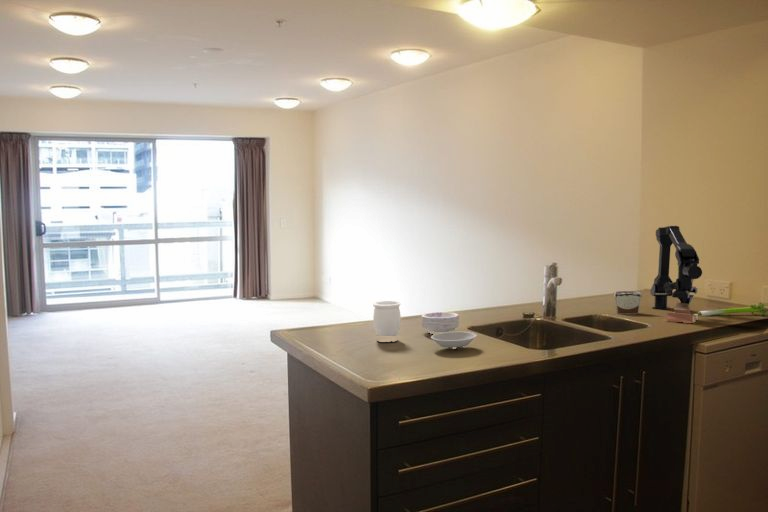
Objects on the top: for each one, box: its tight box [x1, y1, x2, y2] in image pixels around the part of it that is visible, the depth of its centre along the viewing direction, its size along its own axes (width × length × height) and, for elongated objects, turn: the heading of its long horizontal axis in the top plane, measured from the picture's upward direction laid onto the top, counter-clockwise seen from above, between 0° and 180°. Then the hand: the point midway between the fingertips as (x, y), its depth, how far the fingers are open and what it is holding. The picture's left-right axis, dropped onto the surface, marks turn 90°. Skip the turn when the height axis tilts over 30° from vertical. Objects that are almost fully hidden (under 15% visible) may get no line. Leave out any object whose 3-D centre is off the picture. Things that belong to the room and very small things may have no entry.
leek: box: [697, 302, 768, 317], centre depth 276 cm, size 6×7×30 cm
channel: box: [666, 311, 699, 324], centre depth 266 cm, size 11×10×4 cm
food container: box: [613, 290, 643, 315], centre depth 287 cm, size 12×6×10 cm, turn 84°
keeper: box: [673, 302, 691, 314], centre depth 266 cm, size 5×5×6 cm
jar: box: [372, 300, 402, 336], centre depth 238 cm, size 11×10×15 cm
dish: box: [430, 331, 478, 349], centre depth 223 cm, size 18×14×5 cm
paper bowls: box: [421, 311, 460, 332], centre depth 250 cm, size 15×15×8 cm
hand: (684, 311), depth 269 cm, fingers closed
